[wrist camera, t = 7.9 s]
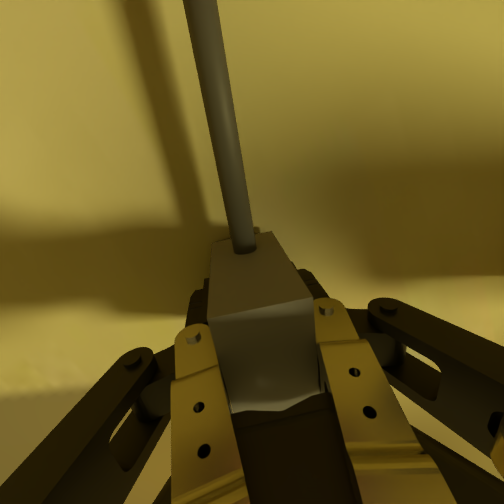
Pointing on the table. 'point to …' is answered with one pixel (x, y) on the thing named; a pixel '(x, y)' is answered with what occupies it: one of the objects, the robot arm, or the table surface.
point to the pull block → (249, 260)
